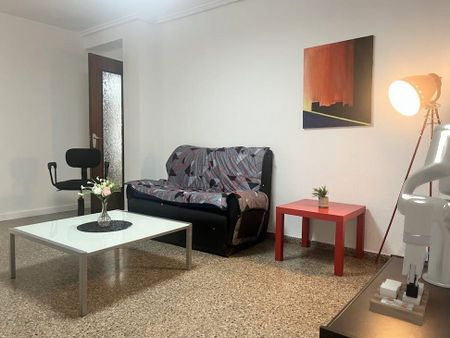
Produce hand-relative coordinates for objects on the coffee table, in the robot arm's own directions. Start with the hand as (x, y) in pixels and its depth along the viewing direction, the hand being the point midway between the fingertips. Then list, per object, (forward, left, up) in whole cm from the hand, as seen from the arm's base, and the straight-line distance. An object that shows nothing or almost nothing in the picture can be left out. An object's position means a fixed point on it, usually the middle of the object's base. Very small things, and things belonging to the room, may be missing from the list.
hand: (411, 296), depth 105 cm
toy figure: (-47, -2, -5) cm, 47 cm away
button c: (0, -6, -2) cm, 7 cm away
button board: (-2, -3, -4) cm, 6 cm away
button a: (-8, -6, -3) cm, 11 cm away
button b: (-8, 0, -1) cm, 8 cm away
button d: (0, 0, -3) cm, 3 cm away
